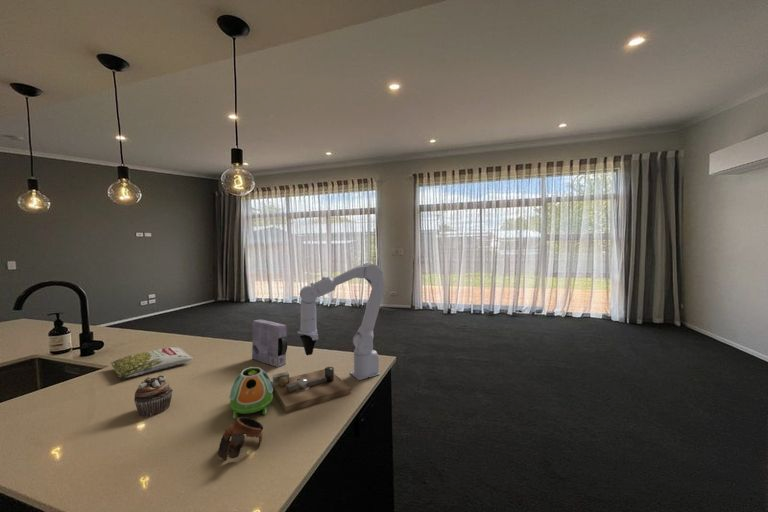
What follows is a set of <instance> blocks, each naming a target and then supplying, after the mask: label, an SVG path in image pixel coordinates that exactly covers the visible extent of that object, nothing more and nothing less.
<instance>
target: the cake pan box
mask: <svg viewBox="0 0 768 512" xmlns="http://www.w3.org/2000/svg"><path fill="white" fill-rule="evenodd" d="M251 342H252V344H251V345H252V347H251V348H252V349H251V358H252V359H251V360H255V361H257V362H261V363H262V364H265V363H266V365H269V364H270V366H273V367H276V368H280V367H282V365H283V366H286V364H287V362H286V361H287V351H288V339H287V325H286V324H282V323H278V322H276V321H275V322H274V321H269V320H266V319H262V318H261V319H256V320H252V340H251ZM279 366H280V367H279Z"/></svg>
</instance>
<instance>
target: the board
mask: <svg viewBox="0 0 768 512" xmlns="http://www.w3.org/2000/svg"><path fill="white" fill-rule="evenodd" d="M323 376H325V368H323V369H320V370H315V371H311V372H307V373H303V374H299V375H298V374H297V375H295V376H292V377H290V373H289V372H288V371H285V372H284V371H283V372H280V373H276V374H272V383H271V384H272V388H273V391H274V392H273V393H274V395H275V397H276V399H277V400H278V402H279V403H280V405H282V406H281V407H282V409H283V411H284V412H285V413H286V414H288V413H290V412H293V411H297V410H300V409H304V408H307V407H310V406H313V405H317V404H320V403H323V402H327V401H329V400H334V399H336V398H340V397H343V396H345V395H350V394H351V393H352V392H351V387H350V386H349V385H348V384H347V383H346V382H344V380H343V379H342V378H340V377H339V376H338V375H337V374H335V373H334V380H333V381H331V382H324V383H321V384H317V385H313V386H310V387H307V388H306V389H303V390H296V391H292V392H288V391H287V384H291V383H295V382H297V379H298V378H301V377H306V378H307V379H308V380H311V379H315V378H319V377H323Z"/></svg>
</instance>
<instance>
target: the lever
mask: <svg viewBox="0 0 768 512" xmlns="http://www.w3.org/2000/svg"><path fill="white" fill-rule="evenodd" d="M324 369H325V376H323V377H319V378H315V379H311V380H308V379H307V378H306V377H301V378H298V379H297V382H295V383H291V384H287V391H288V392H292V391H296V390H303V389H306V388H307V387H310V386H313V385H317V384H321V383H324V382H331V381H333V380H334V374H335V370H334V366H326V367H325V368H324Z"/></svg>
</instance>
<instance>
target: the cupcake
mask: <svg viewBox="0 0 768 512" xmlns="http://www.w3.org/2000/svg"><path fill="white" fill-rule="evenodd" d="M166 379H167V377H165V376H163V375H159V376H157V377H153V378H152V377H146V378H145V379H144V381H142V382H140V384H139V385H138V387H137V388H136V390H135V393H134V399H133V401H134V404H135V406H136V411H137V415H138V414H139V417H141V416H142V417H143V418H146V416H148V417H153V415H154V416H157V415H160V414H162V413H164V412H166V411H167V410H169V408H170V407H171V401H172V396H173V391H174V390H173V389H172V387H170V383H169V382H167V381H166Z"/></svg>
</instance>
